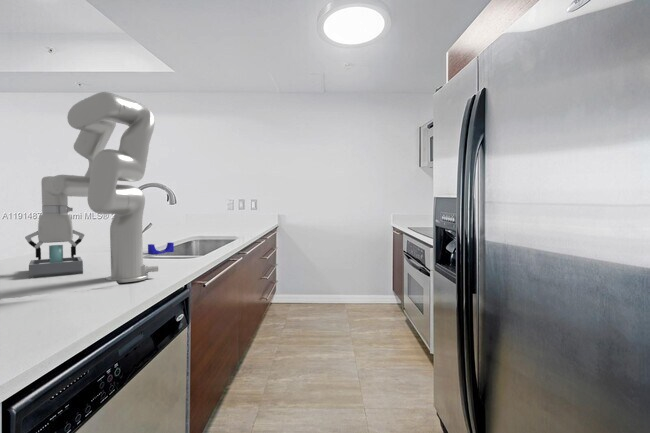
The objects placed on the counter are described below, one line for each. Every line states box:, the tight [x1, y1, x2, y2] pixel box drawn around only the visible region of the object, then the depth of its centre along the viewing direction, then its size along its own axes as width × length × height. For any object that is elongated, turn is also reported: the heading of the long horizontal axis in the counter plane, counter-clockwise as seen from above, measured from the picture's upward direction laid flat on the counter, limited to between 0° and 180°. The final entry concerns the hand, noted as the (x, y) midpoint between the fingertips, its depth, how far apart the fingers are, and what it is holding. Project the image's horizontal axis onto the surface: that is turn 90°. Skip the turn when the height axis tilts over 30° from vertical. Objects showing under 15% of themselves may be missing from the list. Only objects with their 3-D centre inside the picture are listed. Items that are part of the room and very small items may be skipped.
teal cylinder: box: [48, 244, 64, 263], centre depth 134 cm, size 4×4×9 cm
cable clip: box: [147, 242, 175, 255], centre depth 186 cm, size 12×4×6 cm, turn 146°
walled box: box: [28, 256, 84, 279], centre depth 134 cm, size 15×16×4 cm
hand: (56, 258), depth 134 cm, fingers open, 9 cm apart
